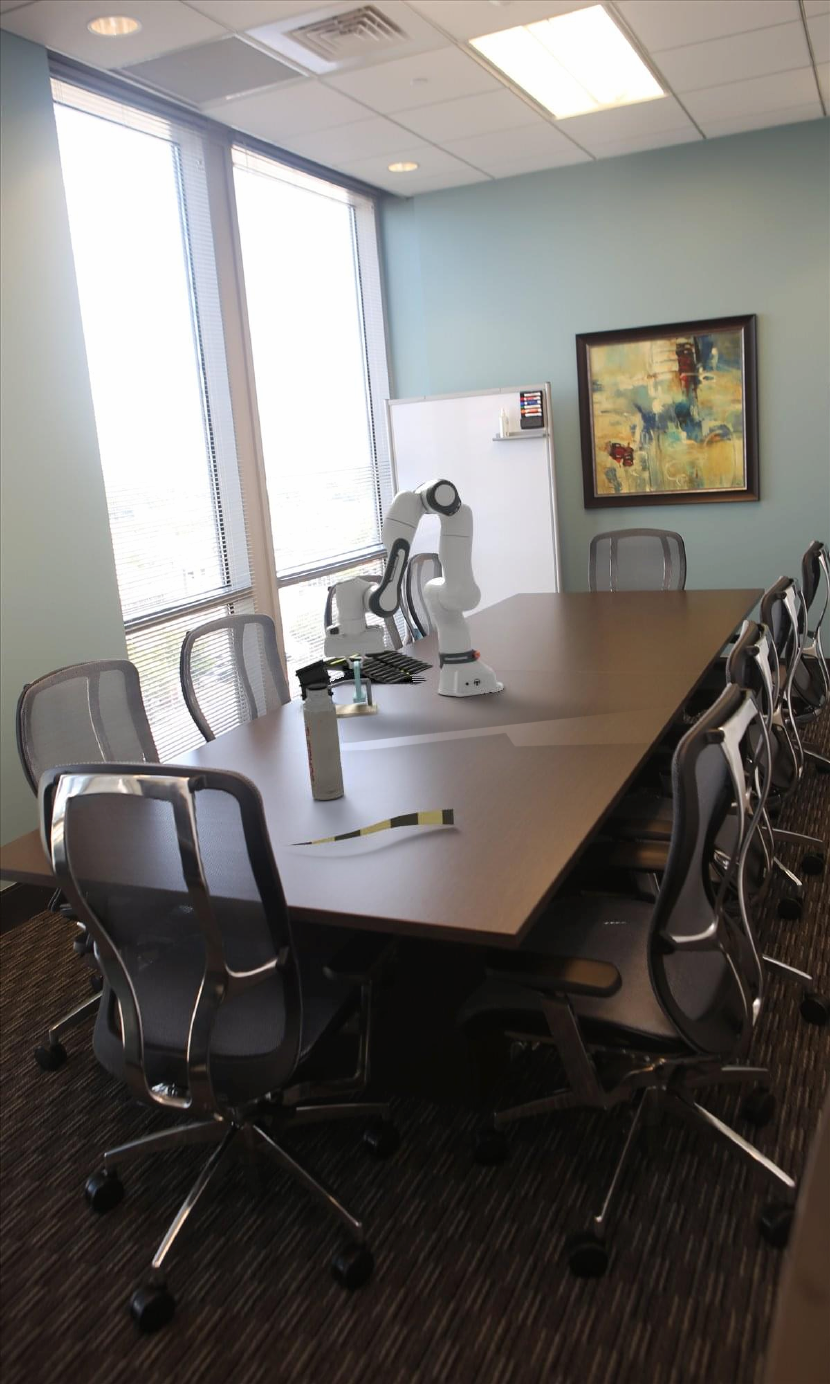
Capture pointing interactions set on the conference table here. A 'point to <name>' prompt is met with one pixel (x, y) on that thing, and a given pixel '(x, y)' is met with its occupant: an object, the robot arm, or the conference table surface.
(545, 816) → the conference table surface
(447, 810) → the tape
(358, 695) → the light blue tall piece
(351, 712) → the board
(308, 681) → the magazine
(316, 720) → the thermos bottle
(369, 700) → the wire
